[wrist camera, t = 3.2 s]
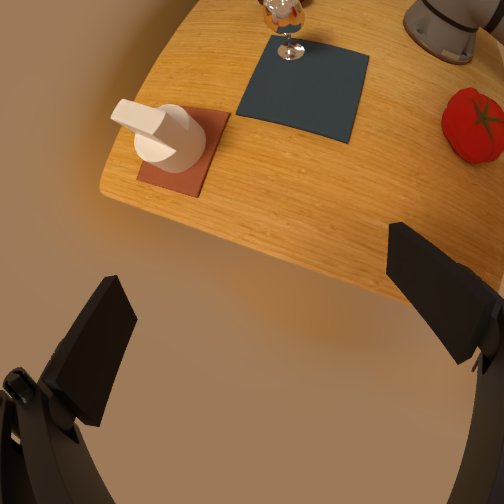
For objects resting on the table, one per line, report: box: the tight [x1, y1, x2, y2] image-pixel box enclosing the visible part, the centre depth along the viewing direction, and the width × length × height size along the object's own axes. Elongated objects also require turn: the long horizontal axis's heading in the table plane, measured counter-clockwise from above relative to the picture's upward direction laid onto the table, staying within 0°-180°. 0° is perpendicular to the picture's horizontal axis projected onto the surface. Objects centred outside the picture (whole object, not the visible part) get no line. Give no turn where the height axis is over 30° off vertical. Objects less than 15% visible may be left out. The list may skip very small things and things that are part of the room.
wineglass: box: [263, 0, 305, 60], centre depth 29 cm, size 6×6×12 cm
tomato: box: [442, 87, 504, 164], centre depth 25 cm, size 11×12×9 cm
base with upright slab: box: [111, 99, 206, 173], centre depth 33 cm, size 9×9×12 cm
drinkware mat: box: [236, 35, 369, 144], centre depth 35 cm, size 18×17×1 cm
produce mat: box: [136, 106, 230, 198], centre depth 39 cm, size 14×12×1 cm
